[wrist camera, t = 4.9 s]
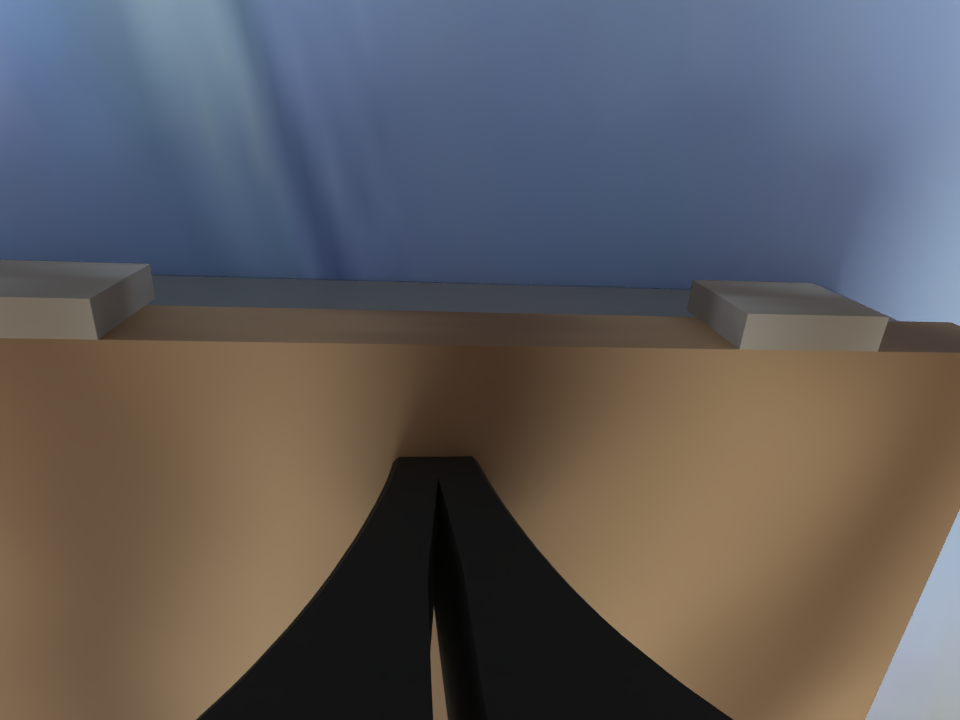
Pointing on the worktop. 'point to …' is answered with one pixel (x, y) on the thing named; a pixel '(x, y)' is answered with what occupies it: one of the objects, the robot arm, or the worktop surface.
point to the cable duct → (417, 296)
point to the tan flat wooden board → (504, 460)
